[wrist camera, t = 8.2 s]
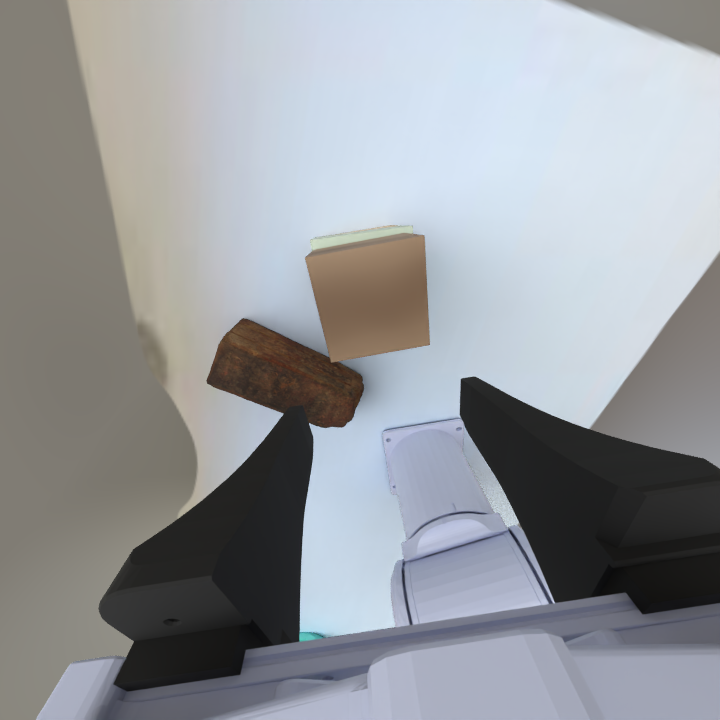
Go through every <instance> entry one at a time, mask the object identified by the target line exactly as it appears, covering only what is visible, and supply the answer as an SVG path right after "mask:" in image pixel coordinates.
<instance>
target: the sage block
mask: <svg viewBox="0 0 720 720" xmlns="http://www.w3.org/2000/svg"><path fill="white" fill-rule="evenodd" d="M400 233H410V234H413V226H394V227H387V228H379V229H372V230H365V231H358V232H351V233H344V234H337V235H329V236H322V237H315V238H313V239H311V240H310V243H311V248H312V251H313V250H315V249H321V248H326V247H331V246H337V245H342V244H347V243H352V242H358V241H363V240H368V239H374V238H379V237H384V236H390V235H395V234H400Z"/></svg>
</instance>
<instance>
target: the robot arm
mask: <svg viewBox="0 0 720 720" xmlns="http://www.w3.org/2000/svg"><path fill="white" fill-rule="evenodd" d="M460 416H461V418H462V420H461V419H454V420H448V421H441V422H435V423H429V424H423V425H416V426H410V427H404V428H398V429H391V430H386V431H384V432H383V441H384V448H385V455H386V461H387V468H388V474H389V481H390V487H391V493H392V494H393V495H398V500H399V505H400V510H401V515H402V520H403V525H404V529H405V534H406V539H407V541H405V542H402V543H401V546H402V551H403V557H404V559H402V560H399V561H397V562H396V564H395V567H394V571H393V574H392V577H391V601H392V608H393V615H394V621H395V626H396V627H394V628H387V629H381V630H374V631H367V632H361V633H354V634H348V635H341V636H334V637H328V638H321V639H315V640H308V641H301V642H299V631H300V580H301V555H302V536H303V521H304V512H305V504H306V498H307V492H308V486H309V480H310V474H311V467H312V460H313V435H312V432H311V429H310V426H309V423H308V420H307V417H306V413H305V410H304V407H303V405H298V406H292V407H289V408H288V409H287V411H286V412H285V413H284V415H283V416H282V417H281V419H280V420H279V421H278V423H277V424H276V425H275V426H274V428H273V429H272V430H271V432H270V433H269V434H268V435H267V437H266V438H265V439H264V440H263V442H262V443H261V444H260V445H259V446H258V447H257V449H256V450H255V451H254V452H253V453H252V454H251V455H250V457H249V458H248V459H247V460H246V461H245V462H244V463H243V464H242V465H241V466H240V467H239V468H238V469H237V470H236V471H235V472H234V473H233V474H232V475H231V476H230V477H229V478H228V479H227V480H225V481H224V482H223V483H222V484H221V485H220V486H219V487H217V488H216V489H215V490H214V491H213V492H212V493H210V494H209V495H208V496H207V497H206V498H205V499H203V500H202V501H201V502H200V503H198V504H197V505H196V506H195V507H193V508H192V509H191V510H189V511H188V512H187V513H185V514H184V515H183V516H181V517H180V518H179V519H177V520H176V521H175V522H173V523H172V524H170V525H169V526H168V527H166V528H165V529H163V530H162V531H160V532H159V533H157V534H156V535H154V536H153V537H151V538H150V539H148V540H147V541H145V542H144V543H142V544H141V545H139V546H138V547H136V548H135V549H133V551H132V552H131V554H130V555H129V557H128V559H127V560H126V562H125V563H124V565H123V567H122V568H121V570H120V571H119V573H118V574H117V576H116V578H115V579H114V581H113V582H112V584H111V585H110V587H109V589H108V590H107V592H106V593H105V595H104V597H103V598H102V600H101V601H100V604H99V612H100V614H101V617H102V618H103V619H104V620H105V621H106V622H107V623H108V624H109V625H111V626H112V627H114V628H115V629H117V630H118V631H120V632H121V633H123V634H124V635H126V636H127V637H128V638H130V639H131V640H133V641H134V643H133V645H132V647H131V649H130V651H129V653H128V655H127V657H122V656H107V657H101V658H95V659H88V660H81V661H75V662H73V663H71V664H70V665H69V666H68V668H67V670H66V671H65V673H64V674H63V676H62V678H61V679H60V681H59V683H58V684H57V686H56V687H55V689H54V691H53V693H52V694H51V696H50V697H49V699H48V700H47V702H46V704H45V706H44V707H43V709H42V710H41V712H40V713H39V715H38V717H37V718H36V720H720V469H719V468H718V467H716V466H715V465H713V464H712V463H710V462H709V461H707V460H705V459H703V458H698V457H694V456H689V455H684V454H680V453H675V452H670V451H666V450H661V449H657V448H653V447H648V446H644V445H641V444H637V443H633V442H629V441H626V440H622V439H618V438H615V437H611V436H608V435H605V434H602V433H599V432H596V431H593V430H590V429H587V428H584V427H581V426H578V425H575V424H572V423H570V422H567V421H565V420H562V419H560V418H557V417H555V416H552V415H550V414H547V413H545V412H543V411H541V410H538V409H536V408H534V407H532V406H530V405H528V404H526V403H524V402H522V401H520V400H518V399H516V398H514V397H512V396H510V395H508V394H506V393H504V392H503V391H501V390H499V389H497V388H495V387H493V386H492V385H490V384H488V383H486V382H484V381H482V380H481V379H479V378H477V377H468V378H462V379H461V391H460ZM464 425H465V427H466V429H467V431H468V433H469V435H470V437H471V438H472V440H473V442H474V443H475V445H476V446H477V448H478V450H479V451H480V453H481V454H482V456H483V457H484V459H485V461H486V462H487V464H488V465H489V467H490V468H491V470H492V472H493V473H494V475H495V476H496V478H497V480H498V481H499V483H500V485H501V487H502V488H503V490H504V492H505V494H506V496H507V498H508V500H509V502H510V504H511V506H512V508H513V510H514V512H515V514H516V517H517V519H518V521H519V523H520V525H521V527H522V529H523V530H522V529H521V528H520V527H518V526H517V525H513V526H510V527H508V529H507V527H506V525H505V523H504V522H503V520H502V518H501V516H500V514H499V513H494V511H493V509H492V507H491V505H490V503H489V501H488V499H487V497H486V496H485V494H484V492H483V490H482V488H481V486H480V484H479V482H478V480H477V479H476V477H475V475H474V473H473V471H472V469H471V467H470V465H469V463H468V462H467V460H466V458H465V456H464V454H463V435H464ZM458 427H459V428H458ZM388 438H390V439H388Z"/></svg>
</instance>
